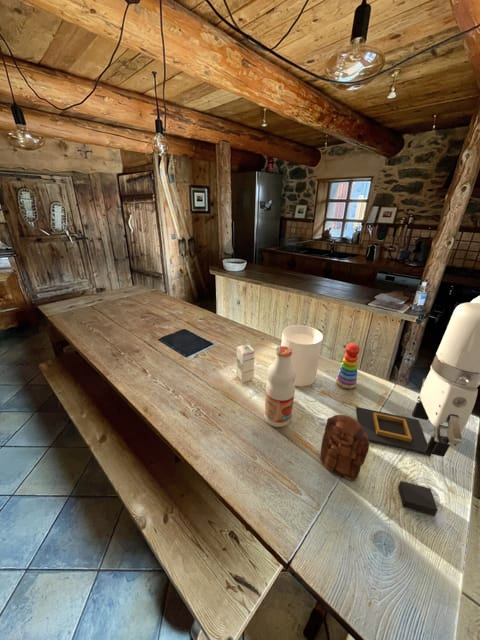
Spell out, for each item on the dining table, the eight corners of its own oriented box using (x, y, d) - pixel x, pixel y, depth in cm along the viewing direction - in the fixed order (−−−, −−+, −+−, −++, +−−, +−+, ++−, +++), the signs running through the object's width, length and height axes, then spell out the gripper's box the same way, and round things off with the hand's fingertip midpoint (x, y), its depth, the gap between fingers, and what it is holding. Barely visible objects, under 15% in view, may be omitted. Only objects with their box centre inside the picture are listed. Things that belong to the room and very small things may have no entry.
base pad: (417, 421, 92) (419, 416, 91) (430, 456, 80) (433, 450, 79) (356, 408, 98) (357, 403, 97) (359, 439, 86) (361, 433, 84)
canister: (292, 390, 106) (298, 348, 97) (271, 368, 119) (274, 329, 110) (324, 380, 112) (331, 339, 103) (300, 360, 125) (306, 322, 116)
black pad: (427, 494, 70) (430, 488, 69) (434, 516, 65) (437, 510, 64) (398, 486, 72) (400, 480, 71) (402, 507, 67) (405, 501, 66)
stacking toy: (357, 381, 112) (367, 343, 103) (353, 392, 106) (363, 352, 97) (338, 375, 115) (346, 337, 107) (333, 385, 109) (341, 346, 101)
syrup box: (254, 379, 112) (255, 350, 106) (242, 383, 110) (242, 353, 103) (248, 371, 117) (249, 343, 110) (236, 375, 114) (236, 346, 108)
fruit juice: (267, 404, 99) (272, 339, 87) (292, 411, 96) (301, 345, 84) (260, 423, 91) (265, 354, 79) (288, 431, 88) (297, 361, 76)
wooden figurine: (314, 464, 78) (323, 418, 70) (321, 448, 82) (330, 404, 75) (356, 486, 72) (372, 440, 64) (361, 468, 77) (376, 422, 69)
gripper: (508, 405, 41) (464, 476, 48) (460, 348, 56) (432, 410, 63) (452, 394, 43) (418, 464, 50) (420, 342, 58) (397, 402, 65)
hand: (426, 434), depth 57 cm, fingers open, 9 cm apart
